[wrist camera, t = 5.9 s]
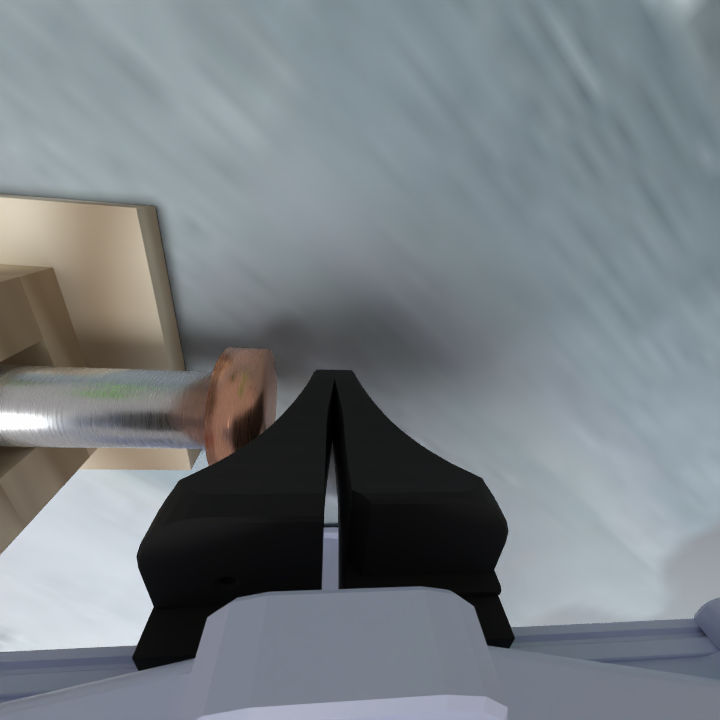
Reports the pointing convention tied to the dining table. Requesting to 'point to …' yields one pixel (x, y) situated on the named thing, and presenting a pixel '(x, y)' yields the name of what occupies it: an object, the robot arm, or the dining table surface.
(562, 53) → the dining table surface
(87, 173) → the dining table surface
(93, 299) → the bearing block
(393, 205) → the dining table surface
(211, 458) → the shaft
